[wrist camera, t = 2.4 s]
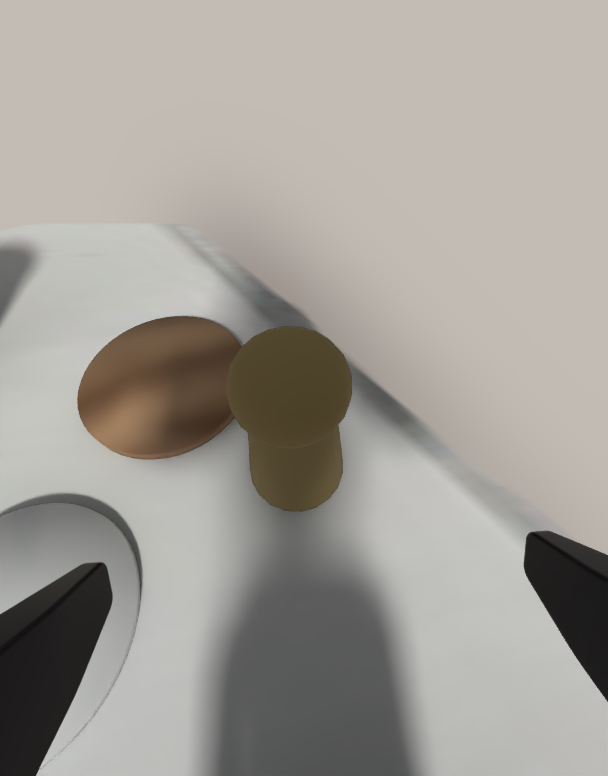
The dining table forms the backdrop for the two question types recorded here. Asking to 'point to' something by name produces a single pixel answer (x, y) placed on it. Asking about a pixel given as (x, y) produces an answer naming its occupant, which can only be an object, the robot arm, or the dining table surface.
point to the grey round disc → (56, 558)
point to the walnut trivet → (159, 388)
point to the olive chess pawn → (291, 414)
